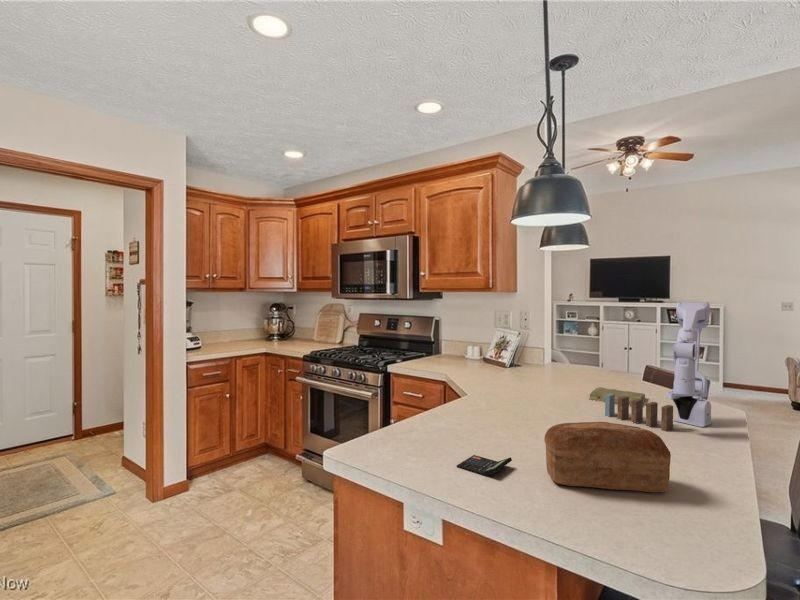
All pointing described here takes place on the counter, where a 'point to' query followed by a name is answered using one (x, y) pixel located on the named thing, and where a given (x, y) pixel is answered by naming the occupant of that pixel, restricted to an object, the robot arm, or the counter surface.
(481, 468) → the calculator
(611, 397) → the domino
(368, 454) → the counter surface
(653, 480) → the bread
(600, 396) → the decorative tile
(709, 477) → the counter surface
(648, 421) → the domino
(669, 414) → the domino
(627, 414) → the domino
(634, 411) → the domino
